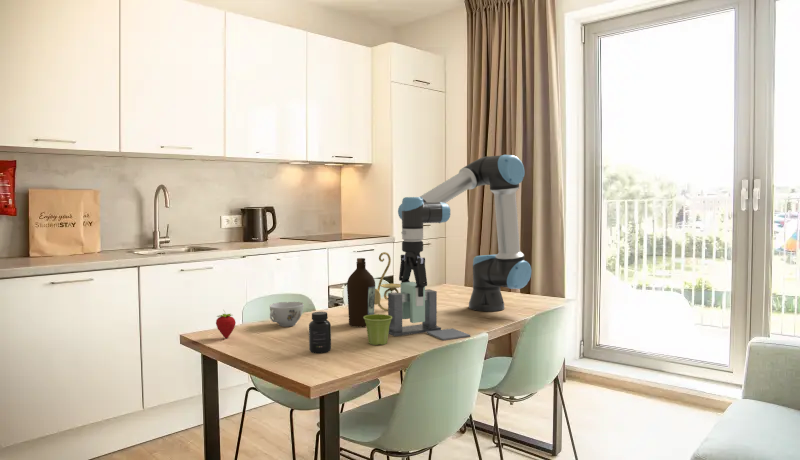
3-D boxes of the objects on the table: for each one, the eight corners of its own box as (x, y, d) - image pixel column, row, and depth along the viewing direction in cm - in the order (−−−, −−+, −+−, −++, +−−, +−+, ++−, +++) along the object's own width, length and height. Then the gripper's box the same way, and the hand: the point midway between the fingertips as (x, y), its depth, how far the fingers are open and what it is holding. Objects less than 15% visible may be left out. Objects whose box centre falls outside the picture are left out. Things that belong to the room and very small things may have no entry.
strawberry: (224, 341, 186) (223, 312, 186) (212, 338, 191) (211, 309, 191) (239, 338, 191) (239, 309, 190) (227, 334, 196) (227, 306, 195)
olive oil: (343, 326, 207) (342, 259, 206) (352, 320, 218) (352, 256, 216) (370, 328, 205) (370, 260, 203) (378, 322, 215) (378, 257, 214)
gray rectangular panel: (452, 329, 202) (452, 328, 202) (470, 336, 192) (470, 334, 192) (426, 333, 197) (426, 331, 197) (443, 340, 187) (443, 338, 187)
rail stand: (429, 325, 209) (429, 288, 208) (441, 330, 202) (441, 291, 201) (383, 331, 200) (383, 292, 199) (394, 336, 193) (393, 296, 192)
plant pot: (373, 338, 191) (373, 312, 190) (397, 341, 186) (397, 315, 186) (358, 344, 183) (357, 318, 182) (382, 348, 178) (382, 321, 178)
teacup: (286, 320, 219) (286, 299, 219) (310, 323, 213) (310, 302, 212) (257, 327, 207) (257, 306, 206) (282, 331, 200) (282, 309, 200)
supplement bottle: (309, 348, 178) (309, 310, 178) (331, 347, 179) (331, 310, 178) (308, 354, 172) (307, 315, 171) (330, 353, 172) (330, 314, 171)
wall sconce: (382, 315, 228) (381, 253, 227) (367, 311, 235) (367, 252, 234) (407, 310, 237) (407, 251, 236) (393, 307, 244) (392, 250, 243)
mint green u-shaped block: (412, 316, 206) (412, 281, 205) (425, 321, 198) (425, 285, 197) (400, 318, 203) (400, 282, 203) (412, 323, 195) (412, 286, 195)
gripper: (389, 238, 207) (389, 299, 208) (418, 243, 188) (418, 309, 189) (407, 238, 210) (407, 297, 212) (437, 242, 191) (437, 307, 192)
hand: (412, 303), depth 200 cm, fingers closed on mint green u-shaped block, 9 cm apart
